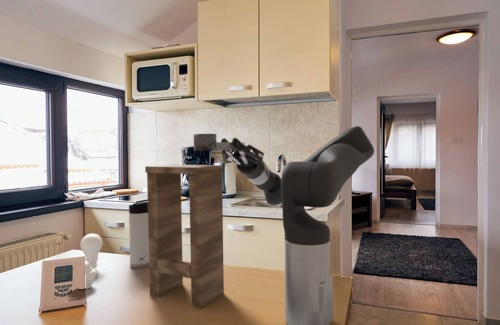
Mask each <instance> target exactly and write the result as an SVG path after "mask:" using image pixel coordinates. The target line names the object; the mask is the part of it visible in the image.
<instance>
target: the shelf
mask: <svg viewBox="0 0 500 325" xmlns="http://www.w3.org/2000/svg"><path fill="white" fill-rule="evenodd" d="M144 168H145V173H146V180H147V181H146V184H147V192H146V193H147V202H148V236H149V266H148V270H149V271H148V273H149V275H148V276H149V296H152V297H156V298H161V297H163V296H164V295H167V294H168V293H170V292H172V291H174V290H176V289H177V288H179V287H182V286H183V285H184V283H183V282H184V278H186V279H190V286H191V287H190V290H191V291H190V293H191V294H190V295H191V307H194V308H198V309H200V310H201V309H204V308H206V307H207V306H208V305H211V303H213V302H215V301H216V300H217V299H219V298H220V297H222V296H223V295H225V287H224V286H225V285H224V282H225V281H224V278H225V276H224V219H223V218H224V217H223V216H224V213H223V212H224V211H223V208H224V207H223V172H224V165H217V164H216V165H215V164H214V165H213V164H212V165H210V164H163V165H148V166H144ZM182 175H188V183H189V185H188V188H189V189H188V190H189V232H190V233H189V238H190V239H189V240H190V244H189V246H190V262H188V261H183V229H182V228H183V225H182V224H183V223H182V222H183V221H182V218H183V217H182Z"/></svg>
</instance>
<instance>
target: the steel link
mask: <svg viewBox="0 0 500 325" xmlns="http://www.w3.org/2000/svg"><path fill="white" fill-rule="evenodd" d="M240 142H241V141H240ZM241 143H242V144H245V145H246V143H245V142H244V141H243V142H241ZM222 150H230V151H231V150H237V149H236V148H235V147H234V146H233V145H232V141H230V142H229V141H228V142H221V141H220V142H219V141H218V140H217V133H194V134H193V151H194V152H195V151H196V152H197V151H199V152H201V151H202V152H203V151H206V152H207V151H222Z"/></svg>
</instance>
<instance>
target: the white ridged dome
mask: <svg viewBox="0 0 500 325" xmlns="http://www.w3.org/2000/svg"><path fill="white" fill-rule="evenodd" d="M84 262H85V274H86V289H85V290H88V288H89V289H90V288H91V287H92V286H93V284H94V281H95V279H96V276H97V271H96V270H95V269H96V268H95V269H93V268H92V267H91V264H90V263H89V262H86V261H84Z"/></svg>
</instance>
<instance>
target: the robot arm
mask: <svg viewBox="0 0 500 325" xmlns="http://www.w3.org/2000/svg"><path fill="white" fill-rule="evenodd" d="M220 142H229V141H228V139H226V138H225V137H223V138H221V140H220ZM231 142H232V145H233V146H234V147H235V148H236V149H237V150H221V157H222V161H224V162H227V161H228V160H229V161H231V162H232V163H234V164H236V166H237V169H238V171H239V172H240V173H241V174H242V175H243V176H244V177H245V178H246V179H247V180H248V181H249V182H250V183H252V184H253V185H254V186H255V187H256V188H257V189H259V190H261V191H263V192H264V198H265V201H266V202H267V204H268V205H270V206H277V205H280V204H281V206H282V207H281V209H282V210H281V211H282V226H283V231H284V306H285V307H284V315H285V316H284V317H285V318H284V319H285V323H286V324H287V325H331V324H332V322H333V321H334V275H333V274H331V232H330V230H331V229H330V227H329V225H327V224H326V223H323V222H322V221H320V220H318V219H316V218H314V217H313V216H311V215H310V214H309V213H308V212H307V211H306V209H305V208H306V207H307V208H327V207H329V206H332V204H333V203H334V202H335V200H336V199H337V198H338V195H339V194H340V192H341V190H342V188H343V186H344V184H346V182H347V181H348V180H349V179H350V178H351V177H352V176H353V175H354V174H355V173H356V172H357V171H358V169H359V168H360V167H361V166H362V165H363V164H365V163H366V162H367V161H369V160H370V159H371V158H372V157H373V155H374V154H375V149H374V146H373V144H372V142H371V141H370V139H369V138H368V136H367V135H366V133H365V131H364V130H363V128H362V127H361V126H360V125H356V126H352V127H350V128H348V129H346V130H344V131H343V132H341V133H339V134H338V135H337V136H336V137H334V138H332V139H331V140H329V141H328V142H326V143H325V144H324V145H323V146H321V147H320V148H319V149H318V150H316V151H315V152H314V153H312V154H311V155H309V156H308V157H307V158H306V159H304V160H302V161H290V162H288V163H286V164H285V166H284V167H283V169H282V173H281V177H280V175H279V174H277V173H274V172H273V171H272V170H271V169H270V168H269V166H268V165H267V163H266V162H265V161H264V160H263V159H264V155H265V153H264V152H263V151H261V150H260V149H258V148H256V147H255V146H253V145H251V144H247V145H246V143H245V144H242V143H241V141H240V140H239V139H238V138H237V137H233V138H232V140H231Z"/></svg>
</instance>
